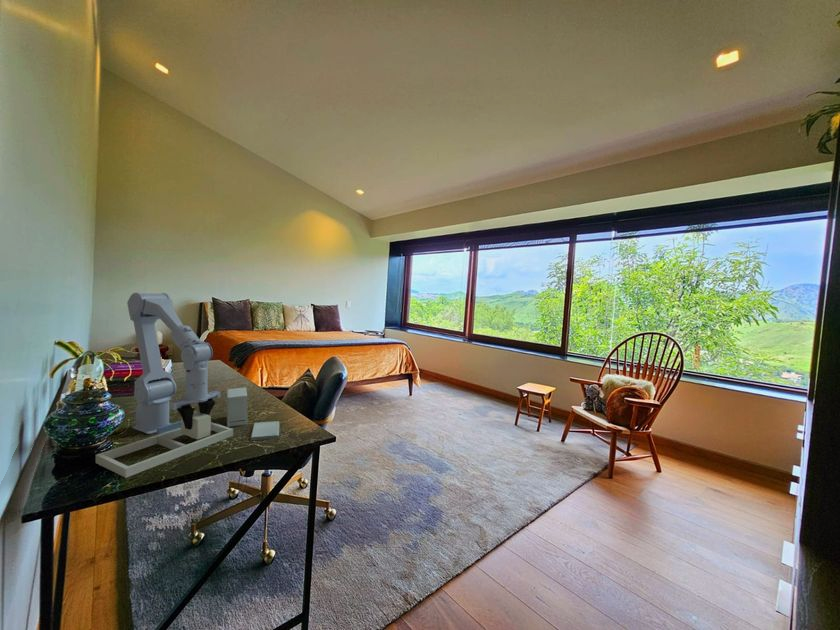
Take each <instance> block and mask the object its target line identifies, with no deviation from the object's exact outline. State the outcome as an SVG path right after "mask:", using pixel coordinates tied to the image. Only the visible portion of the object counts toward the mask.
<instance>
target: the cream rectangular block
mask: <svg viewBox="0 0 840 630" xmlns="http://www.w3.org/2000/svg"><path fill="white" fill-rule="evenodd" d="M211 419H212V416H211V415H210V414H209V415H207V414H203V413H200V411H196V410H194V413H193V418H192V429H190V430H189V429H186V428H185V425H184V422H183V419H182V417H181V416H180V421H181V434H184V436H188V437H190V438H193V439H196V440H201V439H204V438H206V437H209V436H211V432H212V431H211V422H212V420H211Z"/></svg>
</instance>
